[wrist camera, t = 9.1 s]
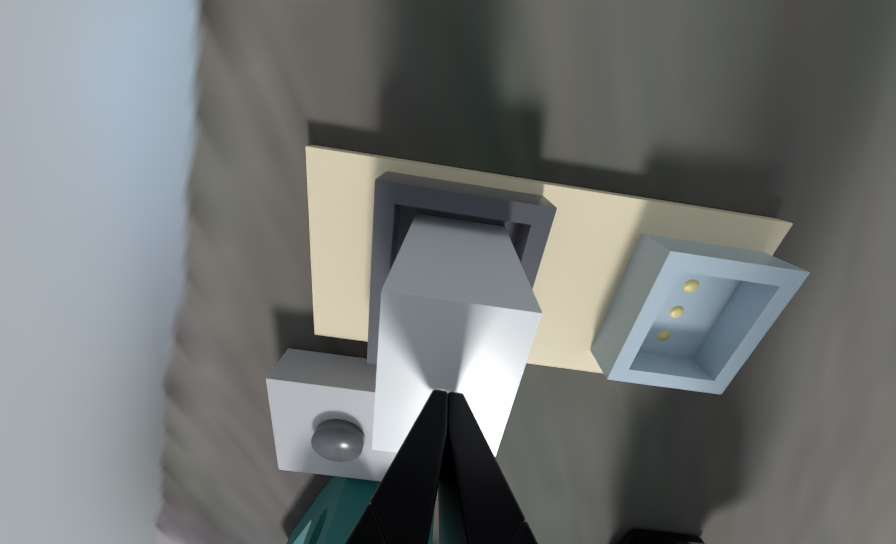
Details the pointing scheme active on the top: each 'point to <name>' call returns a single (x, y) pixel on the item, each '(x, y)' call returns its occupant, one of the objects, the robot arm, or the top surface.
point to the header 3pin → (691, 313)
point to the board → (563, 262)
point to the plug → (452, 327)
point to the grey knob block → (325, 415)
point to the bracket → (336, 512)
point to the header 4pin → (453, 200)
